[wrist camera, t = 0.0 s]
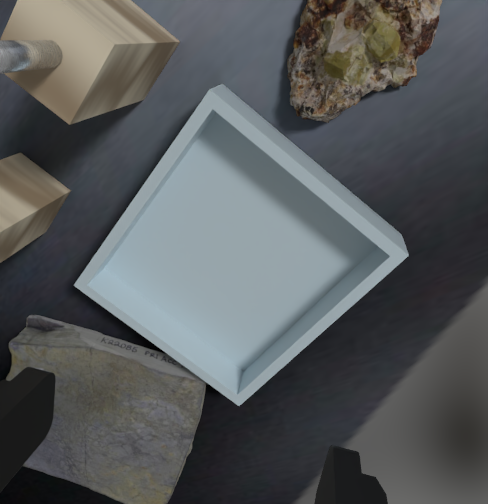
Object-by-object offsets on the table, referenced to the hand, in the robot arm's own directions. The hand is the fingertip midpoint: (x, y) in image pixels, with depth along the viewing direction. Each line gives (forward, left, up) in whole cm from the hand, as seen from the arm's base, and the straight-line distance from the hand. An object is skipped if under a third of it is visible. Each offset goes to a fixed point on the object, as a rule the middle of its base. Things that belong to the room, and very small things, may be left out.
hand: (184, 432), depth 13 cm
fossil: (+28, +1, -23) cm, 36 cm away
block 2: (-1, -13, -22) cm, 26 cm away
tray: (+6, +1, -22) cm, 23 cm away
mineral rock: (-10, -2, -23) cm, 25 cm away
